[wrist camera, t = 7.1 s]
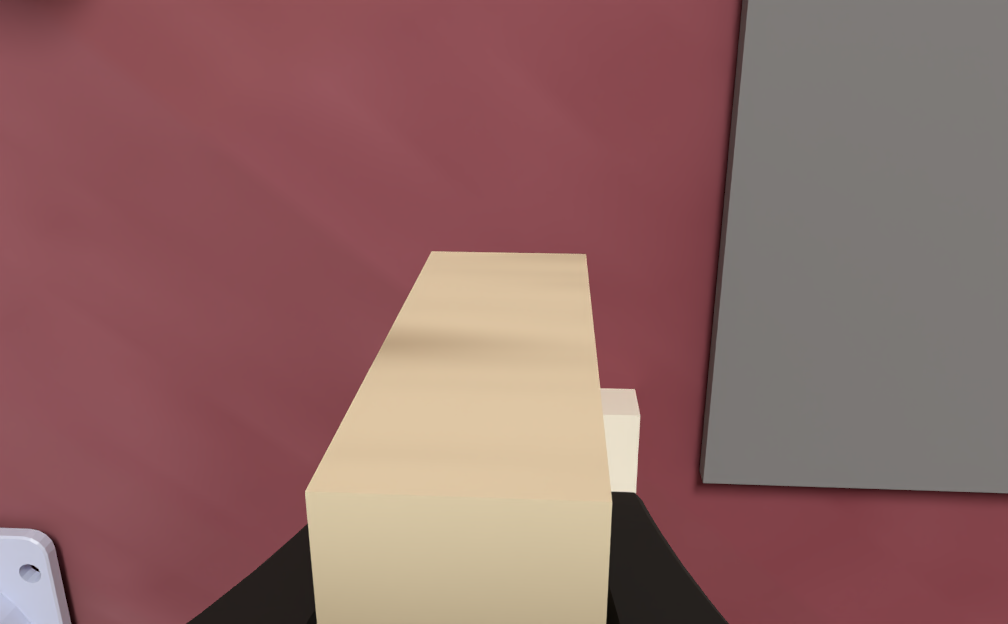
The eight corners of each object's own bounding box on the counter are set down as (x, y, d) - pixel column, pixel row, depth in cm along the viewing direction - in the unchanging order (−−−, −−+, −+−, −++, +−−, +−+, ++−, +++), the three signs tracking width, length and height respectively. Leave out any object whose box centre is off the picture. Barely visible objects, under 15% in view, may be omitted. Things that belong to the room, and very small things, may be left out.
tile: (633, 381, 19) (619, 639, 21) (406, 376, 19) (418, 631, 21) (640, 415, 17) (624, 690, 19) (393, 409, 17) (407, 681, 20)
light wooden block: (574, 578, 15) (586, 1017, 9) (441, 572, 15) (351, 1001, 9) (585, 253, 13) (611, 501, 7) (431, 251, 13) (305, 491, 7)
